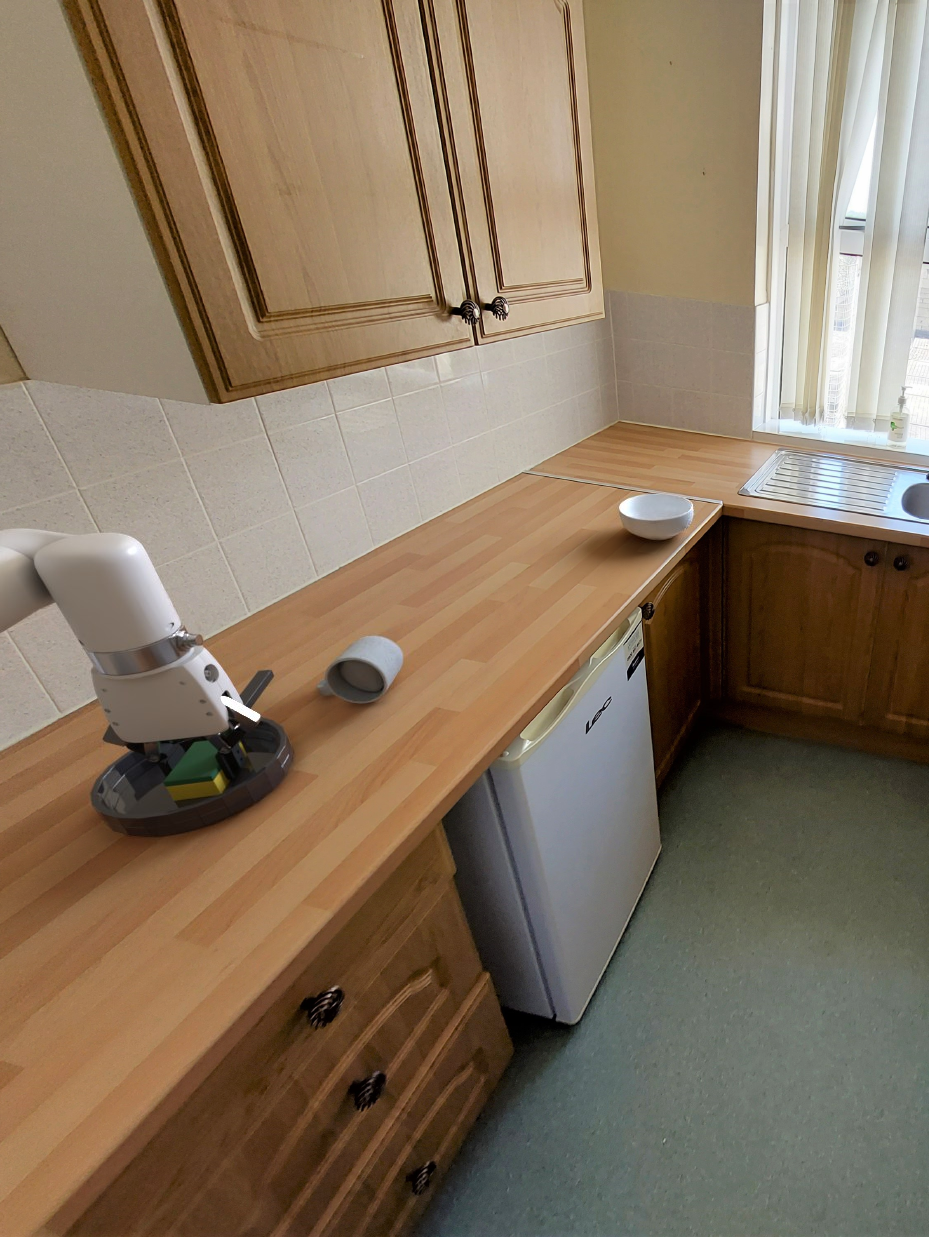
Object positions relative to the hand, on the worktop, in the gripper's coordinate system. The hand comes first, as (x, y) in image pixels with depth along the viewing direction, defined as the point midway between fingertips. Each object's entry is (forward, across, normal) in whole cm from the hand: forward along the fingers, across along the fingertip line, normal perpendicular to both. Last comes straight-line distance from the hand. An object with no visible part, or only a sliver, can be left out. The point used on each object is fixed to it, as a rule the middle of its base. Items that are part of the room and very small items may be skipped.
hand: (210, 773), depth 78 cm
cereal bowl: (+1, -58, -70) cm, 91 cm away
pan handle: (-1, +1, -14) cm, 14 cm away
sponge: (+1, 0, 0) cm, 1 cm away
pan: (+1, +1, 0) cm, 1 cm away
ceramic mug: (+1, -12, -17) cm, 20 cm away
